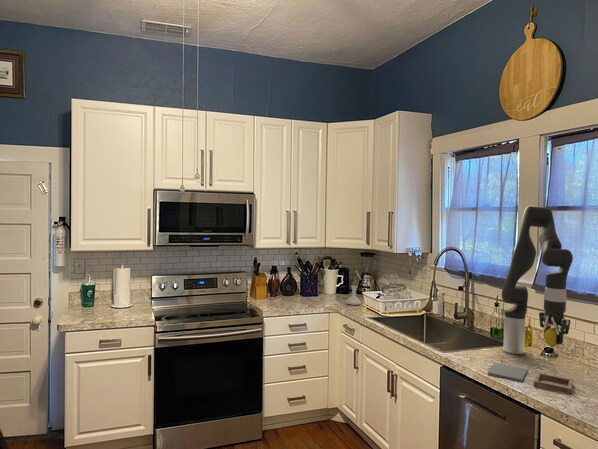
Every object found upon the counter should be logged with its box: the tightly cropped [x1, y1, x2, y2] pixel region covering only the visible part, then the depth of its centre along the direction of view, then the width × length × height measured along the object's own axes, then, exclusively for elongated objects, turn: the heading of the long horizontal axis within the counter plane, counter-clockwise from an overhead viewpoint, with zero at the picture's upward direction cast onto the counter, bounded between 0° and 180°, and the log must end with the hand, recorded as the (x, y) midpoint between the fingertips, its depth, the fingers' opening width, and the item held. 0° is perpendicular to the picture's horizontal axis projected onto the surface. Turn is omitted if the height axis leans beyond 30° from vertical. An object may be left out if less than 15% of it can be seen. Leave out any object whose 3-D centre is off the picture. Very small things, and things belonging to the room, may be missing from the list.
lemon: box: [544, 326, 560, 349], centre depth 172 cm, size 6×6×8 cm
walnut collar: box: [533, 372, 574, 395], centre depth 172 cm, size 12×12×2 cm
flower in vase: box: [345, 270, 362, 306], centre depth 324 cm, size 13×11×25 cm
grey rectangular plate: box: [487, 362, 529, 383], centre depth 185 cm, size 16×13×1 cm
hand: (553, 341), depth 173 cm, fingers closed on lemon, 5 cm apart
